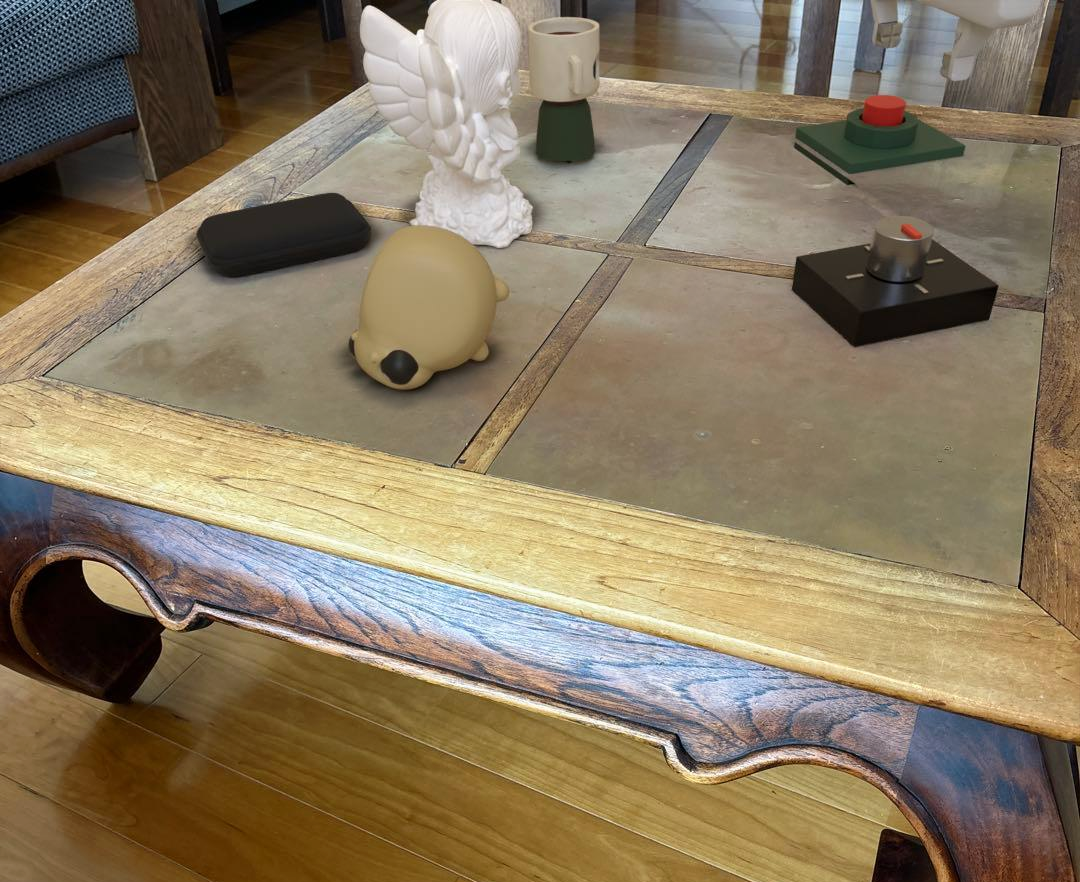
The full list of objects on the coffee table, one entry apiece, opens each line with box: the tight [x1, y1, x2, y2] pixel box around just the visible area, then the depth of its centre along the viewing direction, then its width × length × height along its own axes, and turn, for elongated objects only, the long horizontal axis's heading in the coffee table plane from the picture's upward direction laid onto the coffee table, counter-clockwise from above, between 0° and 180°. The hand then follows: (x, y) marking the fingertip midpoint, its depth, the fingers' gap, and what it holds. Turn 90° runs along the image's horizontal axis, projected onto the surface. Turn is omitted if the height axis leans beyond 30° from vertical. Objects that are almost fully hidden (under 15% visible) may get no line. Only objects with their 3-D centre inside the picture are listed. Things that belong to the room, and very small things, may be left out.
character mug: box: [527, 16, 601, 164], centre depth 105 cm, size 11×7×13 cm, turn 14°
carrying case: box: [195, 192, 373, 278], centre depth 93 cm, size 11×3×15 cm
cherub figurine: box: [359, 0, 534, 249], centre depth 89 cm, size 13×12×20 cm
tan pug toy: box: [348, 225, 510, 390], centre depth 75 cm, size 10×12×11 cm
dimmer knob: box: [866, 215, 935, 282], centre depth 80 cm, size 4×4×4 cm
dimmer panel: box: [791, 238, 1000, 348], centre depth 82 cm, size 12×10×3 cm
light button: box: [862, 94, 907, 126], centre depth 103 cm, size 4×4×2 cm
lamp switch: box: [793, 107, 966, 186], centre depth 105 cm, size 13×11×4 cm
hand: (918, 61), depth 82 cm, fingers open, 8 cm apart
